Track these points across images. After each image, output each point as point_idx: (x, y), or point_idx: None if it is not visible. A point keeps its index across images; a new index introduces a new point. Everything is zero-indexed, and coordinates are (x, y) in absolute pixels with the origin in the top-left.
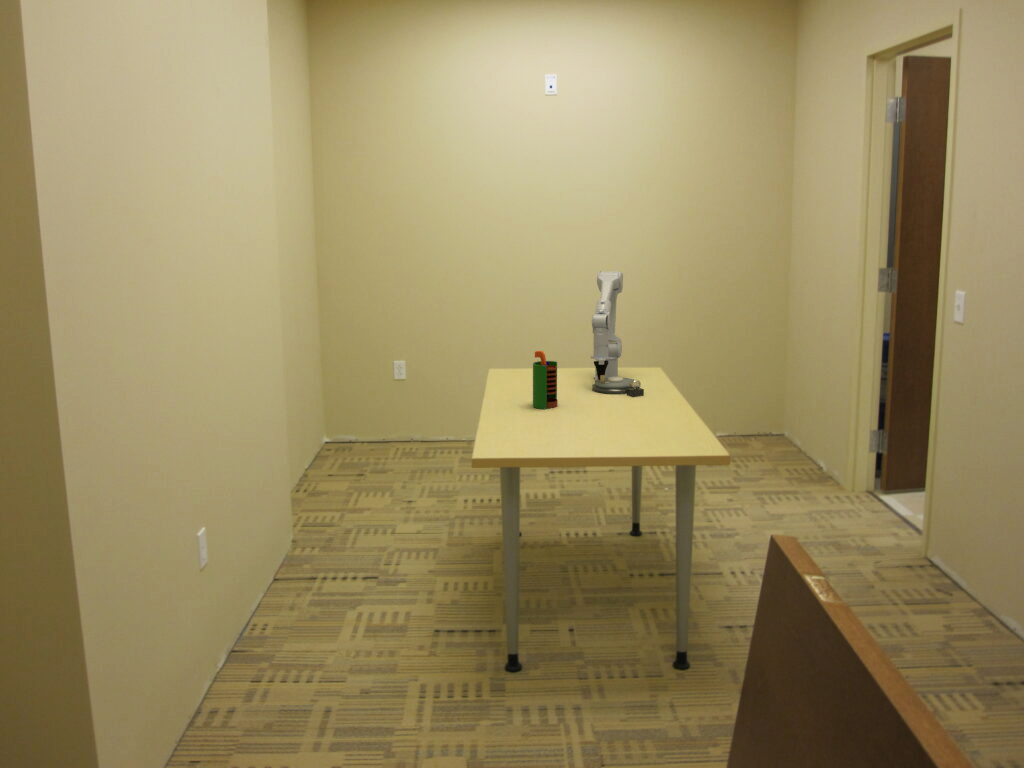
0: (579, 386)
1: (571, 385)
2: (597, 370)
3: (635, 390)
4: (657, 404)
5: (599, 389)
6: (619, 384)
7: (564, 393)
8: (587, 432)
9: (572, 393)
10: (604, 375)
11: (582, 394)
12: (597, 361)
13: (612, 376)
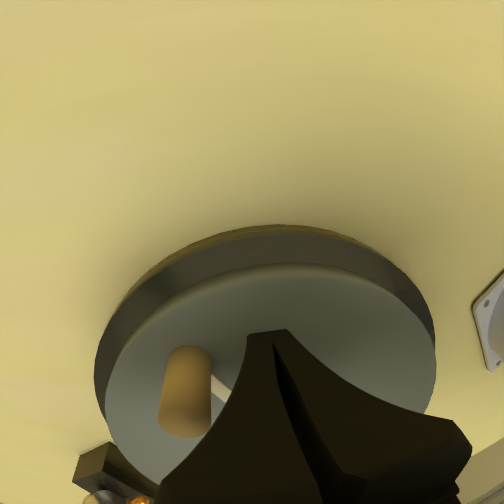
0: (380, 104)
1: (408, 44)
2: (223, 418)
3: (85, 489)
4: (21, 485)
5: (113, 316)
6: (158, 460)
7: (78, 12)
8: None
9: (76, 71)
10: (182, 437)
11: (47, 166)
12: (412, 498)
13: (501, 347)
